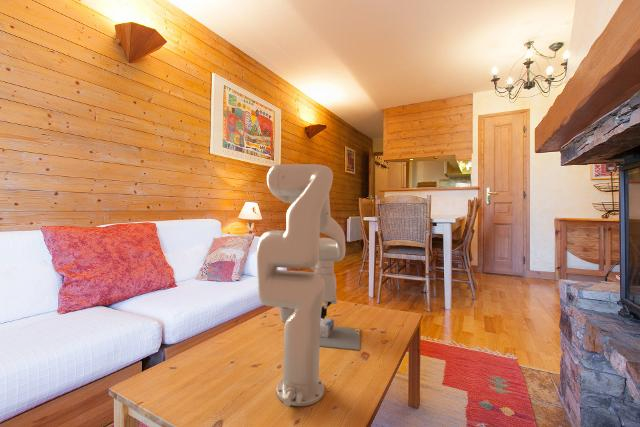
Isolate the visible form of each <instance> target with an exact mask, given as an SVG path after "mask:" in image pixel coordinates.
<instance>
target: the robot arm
mask: <svg viewBox="0 0 640 427" xmlns="http://www.w3.org/2000/svg"><path fill="white" fill-rule="evenodd" d="M333 180H334V173H333V170H332V169H331V168H330V167H329V166H327V165H323V164H313V163H308V164H306V163H305V164H304V163H303V164H302V163H299V164H297V163H295V164H292V163H291V164H288V163H287V164H286V163H285V164H284V163H281V164H274V165H273V166H271V167H270V168H269V170H268V172H267V174H266V185H267V188H268V190H269V192H270V193H271V195H272V196H274V197H275V198H277V199H278V200H280V201H281V202H283V203H284V204H285V203H286V204H290V206H289V207H288V209H287V211H286V213H285V214H286V215H285V216H286V219H285V220H286V224H285V226H286V229H285V230H277V229H275V230H268V231H265V232H264V233H263V234H262V235H261V236H260V238H259V240H258V244H257V250H256V266H257V268H256V270H257V273H256V274H257V293H258V299H259V301H260V302H261V304H262V305H264V306H267V307H275V308H279V307H284V308H292V309H294V312H293V313H292V314H291V315H290V316H289V318H288V319H287V320H286V322H284V323H285V324H284V326H283V354H282V355H283V359H282V360H283V361H282V364H283V365H282V379H281V380H280V381H279V382H278V383H277V385H276V396H277V397H278V399H279V400H280V401H282V403H283V405H284V406H285V407H290V406H293V407H305V406H306V407H307V406H311V405H314V404H315V403H317V402H319V401H320V400H321V399H322V398H323V396H324V394H325V384H324V382H323V381H322V380H321V379H320V378H319V377H320V350H321V349H320V323H321V319H324V318H326V317H327V314H328V313H327V311H328V307H329V306H331V305H335V304H337V303H338V299H337V293H338V292H337V289H338V288H337V278H336V273H334V271H335V270H334V269H335V262H341V261H342V260H343V259H344V258H345V256H346V236H345V232H344V230H343V227H341V225H340V224H339V223H338V222H337V221H336V220H335V219H334V217H332V216H331V215H332V214H331V205H330V204H331V203H330V202H331V200H330V191H331V188H332V185H333ZM320 233H321V234H324V235H326V236H328V237H320V235H321V234H320ZM278 268H285V270H283V269H278ZM286 268H288V269H304V270H305V269H310V271H301V270H286ZM323 303H324V304H323Z"/></svg>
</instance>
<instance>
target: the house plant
mask: <svg viewBox="0 0 640 427" xmlns="http://www.w3.org/2000/svg"><path fill="white" fill-rule="evenodd" d="M278 309H279V316H280V317H279V318H280V322H282V323H286V320H287V319H288V318H289V316H290V315H291V314H292V313H293V312H294V311H295V310H294V309H292V308H284V307H278Z"/></svg>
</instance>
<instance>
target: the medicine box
mask: <svg viewBox="0 0 640 427" xmlns="http://www.w3.org/2000/svg"><path fill="white" fill-rule="evenodd" d="M334 326H335V320H334V319H333V318H327V317H325V318H324V319H321V323H320V337H326V338H328V336H329V335H330V334H331V333H332V331H333V330H334Z"/></svg>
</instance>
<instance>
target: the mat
mask: <svg viewBox="0 0 640 427" xmlns="http://www.w3.org/2000/svg"><path fill="white" fill-rule="evenodd" d="M355 329H359V328H355V327H348V326H347V327H344V326H335V325H334V330H333V331H332V333H331V334H330V335H329V336H328V338H326V337H320V347H321V348H328V349H329V348H330V349H338V348H341V349H340V350H348V349H356V350H355V351H357V350H360V349H361V332H360V333H359V331H358V330H356V331H355ZM357 332H358V333H359V334H358V333H357ZM360 351H361V350H360Z"/></svg>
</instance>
